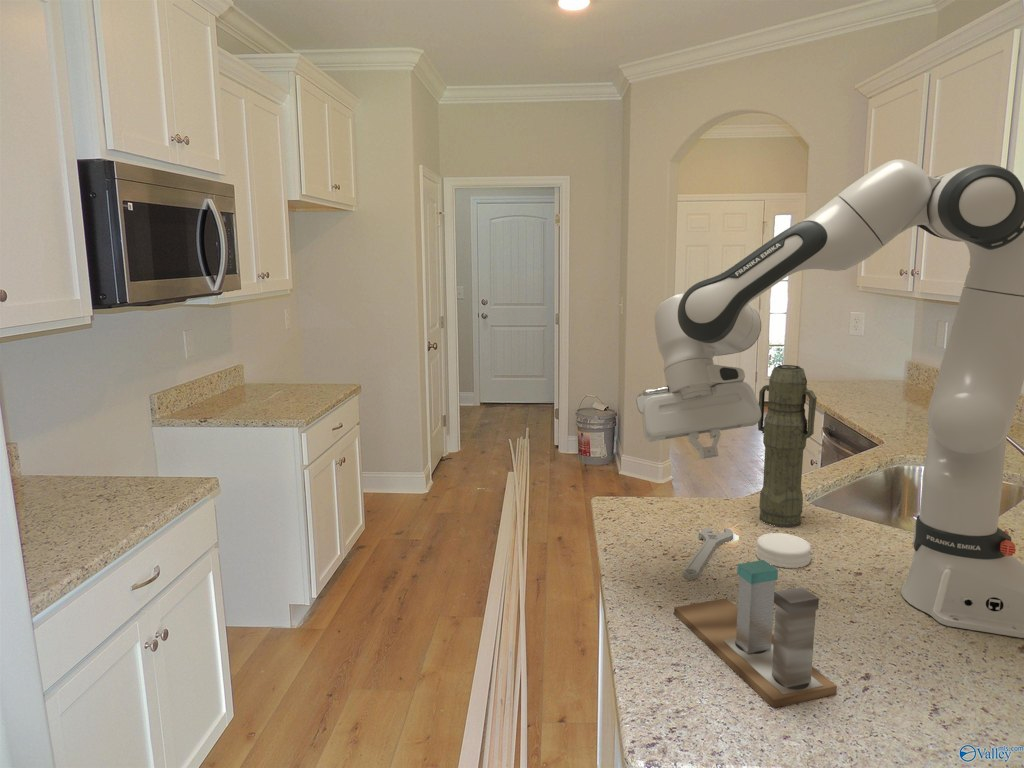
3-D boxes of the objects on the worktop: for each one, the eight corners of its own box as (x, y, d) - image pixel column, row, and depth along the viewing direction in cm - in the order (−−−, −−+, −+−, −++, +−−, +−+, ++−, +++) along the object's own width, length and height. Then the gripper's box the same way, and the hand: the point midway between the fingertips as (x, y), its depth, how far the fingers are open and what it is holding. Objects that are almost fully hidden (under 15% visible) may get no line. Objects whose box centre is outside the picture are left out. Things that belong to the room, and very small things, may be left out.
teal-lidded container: (733, 642, 105) (737, 563, 103) (759, 637, 106) (763, 559, 104) (747, 654, 102) (751, 573, 99) (773, 649, 103) (778, 569, 101)
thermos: (803, 532, 150) (814, 371, 143) (747, 521, 156) (755, 367, 150) (812, 519, 157) (822, 365, 151) (758, 509, 163) (766, 362, 157)
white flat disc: (800, 574, 131) (801, 556, 130) (748, 560, 137) (749, 543, 136) (817, 556, 138) (818, 540, 137) (766, 544, 144) (767, 528, 144)
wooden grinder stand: (674, 613, 116) (676, 535, 114) (726, 604, 119) (729, 528, 117) (773, 708, 92) (779, 611, 89) (836, 693, 95) (843, 599, 92)
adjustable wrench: (695, 583, 128) (695, 574, 128) (662, 575, 132) (662, 566, 131) (736, 537, 148) (736, 529, 148) (706, 531, 152) (706, 523, 152)
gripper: (635, 386, 122) (651, 463, 118) (752, 367, 121) (772, 444, 117) (632, 396, 128) (648, 470, 124) (744, 378, 127) (763, 452, 123)
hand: (709, 457), depth 120 cm, fingers closed
